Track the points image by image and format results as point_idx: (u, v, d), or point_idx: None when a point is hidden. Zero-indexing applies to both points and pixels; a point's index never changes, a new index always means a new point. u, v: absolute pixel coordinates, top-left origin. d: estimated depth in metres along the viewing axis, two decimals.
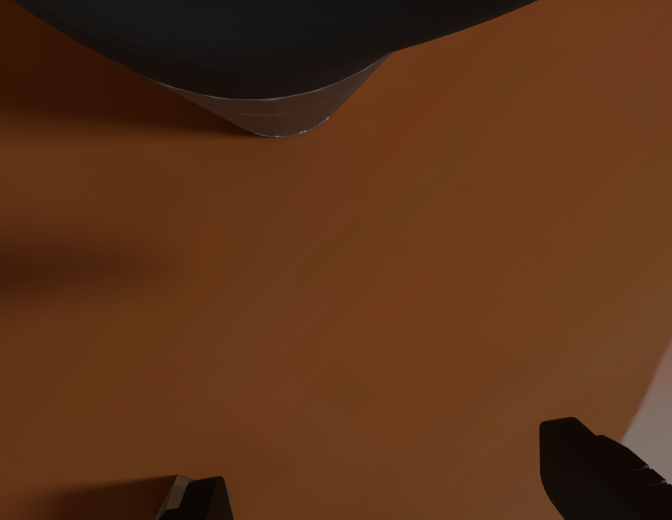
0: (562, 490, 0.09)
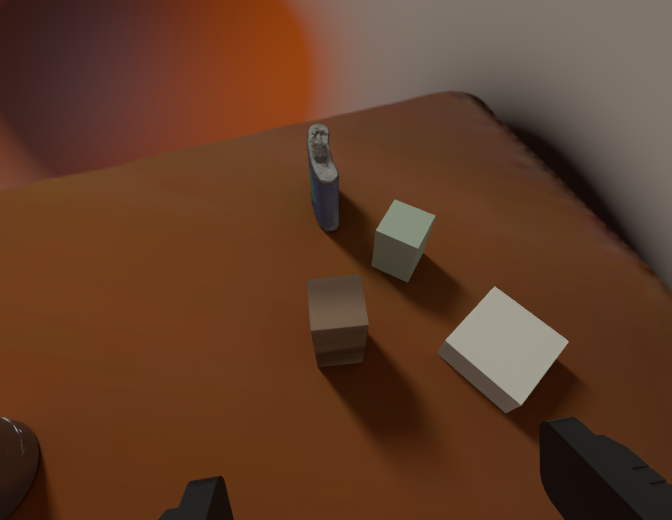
0: (562, 490, 0.09)
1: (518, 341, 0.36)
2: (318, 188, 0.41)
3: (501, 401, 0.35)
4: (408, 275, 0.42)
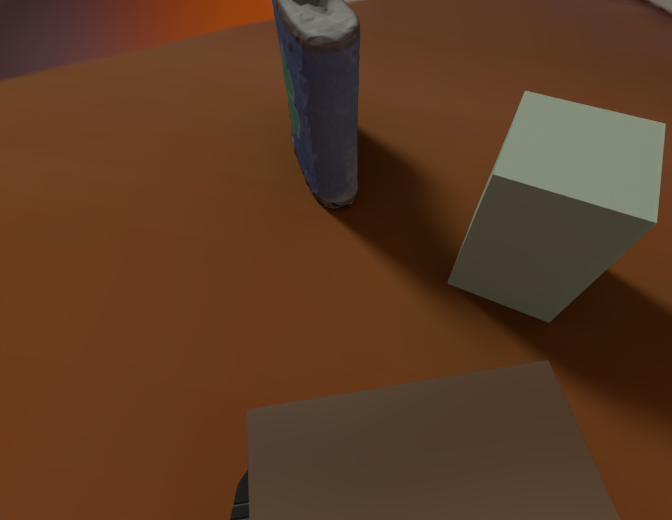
0: None
1: None
2: (302, 76, 0.15)
3: None
4: (561, 306, 0.15)
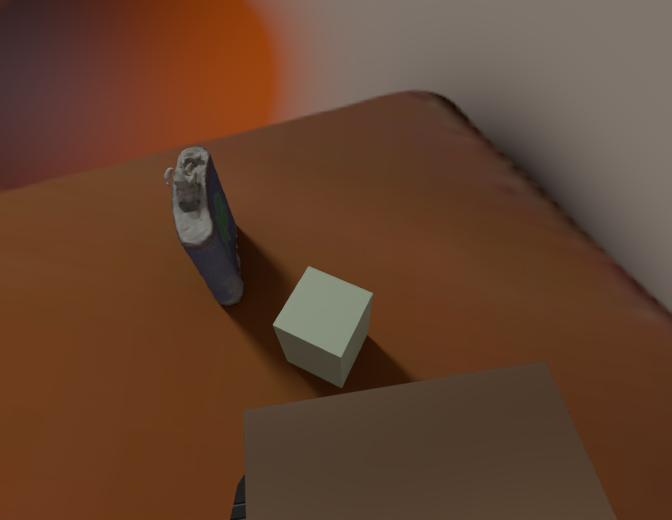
0: None
1: None
2: None
3: None
4: (339, 381, 0.27)
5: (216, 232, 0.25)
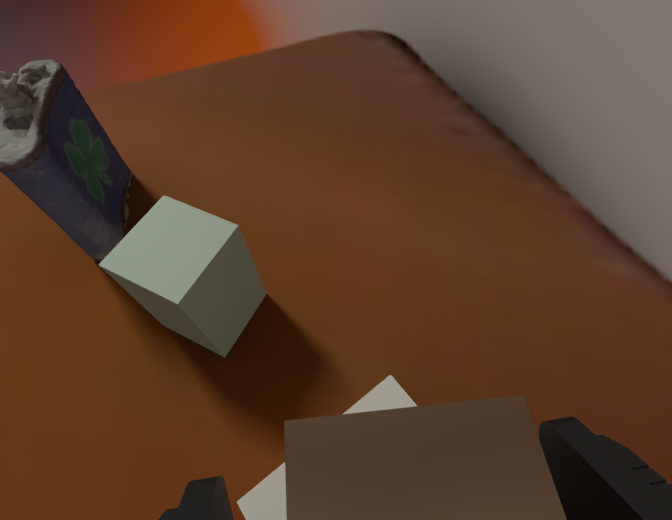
0: (562, 490, 0.09)
1: None
2: None
3: None
4: (214, 347, 0.21)
5: (45, 152, 0.19)
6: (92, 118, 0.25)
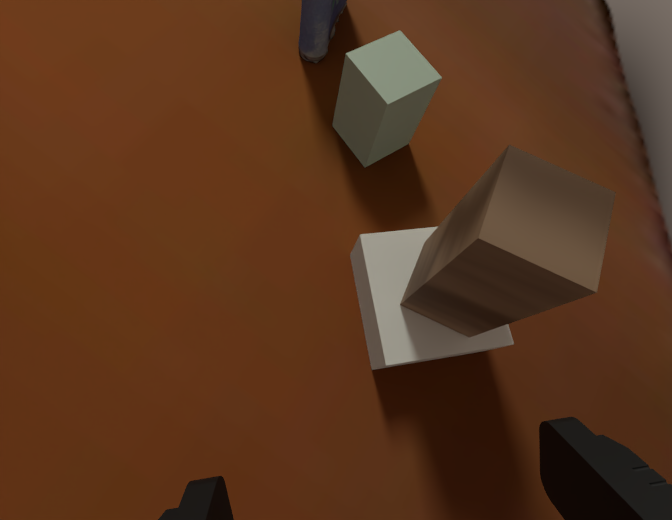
0: (562, 490, 0.09)
1: None
2: None
3: (373, 351, 0.24)
4: (367, 154, 0.29)
5: None
6: None
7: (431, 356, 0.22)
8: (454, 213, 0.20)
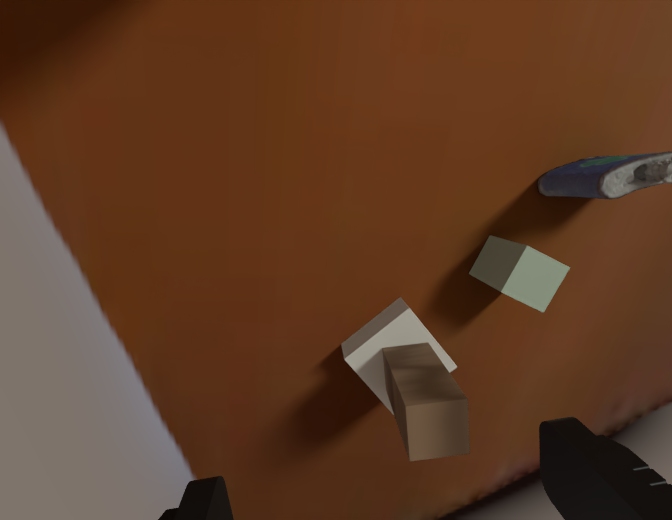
0: (562, 490, 0.09)
1: None
2: (594, 172, 0.32)
3: (350, 343, 0.40)
4: (475, 276, 0.39)
5: None
6: None
7: (362, 378, 0.38)
8: (438, 368, 0.33)
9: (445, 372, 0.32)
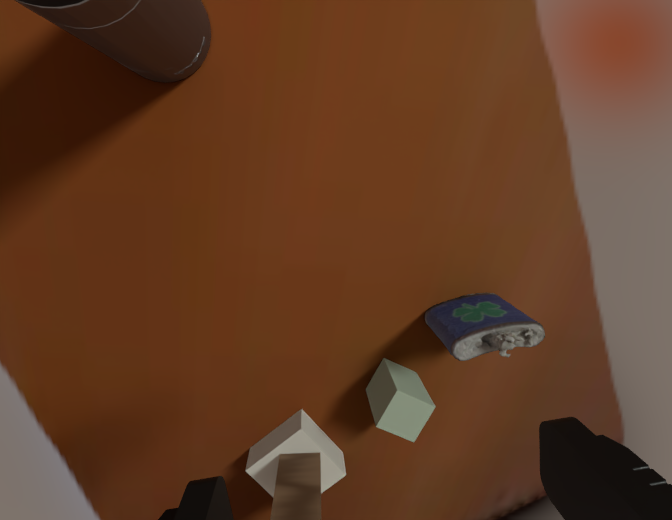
0: (562, 490, 0.09)
1: None
2: (453, 332, 0.38)
3: (255, 451, 0.45)
4: (368, 395, 0.45)
5: None
6: None
7: (262, 486, 0.44)
8: (314, 489, 0.38)
9: (317, 496, 0.37)
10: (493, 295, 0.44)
